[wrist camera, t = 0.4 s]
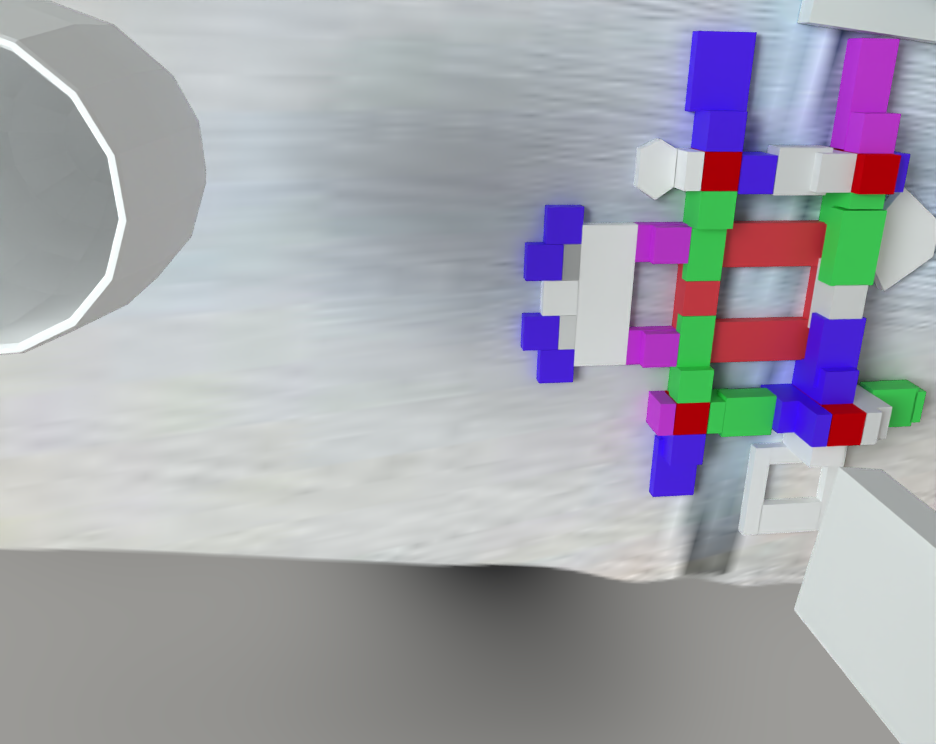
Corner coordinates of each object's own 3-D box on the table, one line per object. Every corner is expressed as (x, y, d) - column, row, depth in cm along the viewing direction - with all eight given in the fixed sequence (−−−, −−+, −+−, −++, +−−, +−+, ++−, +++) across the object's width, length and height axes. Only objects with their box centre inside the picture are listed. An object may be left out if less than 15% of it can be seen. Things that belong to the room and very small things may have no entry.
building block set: (531, 28, 35) (555, 24, 31) (971, 38, 38) (1048, 36, 34) (510, 537, 44) (527, 587, 40) (869, 516, 47) (920, 561, 43)
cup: (79, 194, 35) (-255, 364, 16) (80, 8, 32) (-313, -64, 13) (256, 218, 36) (151, 402, 17) (270, 40, 34) (164, 18, 14)
